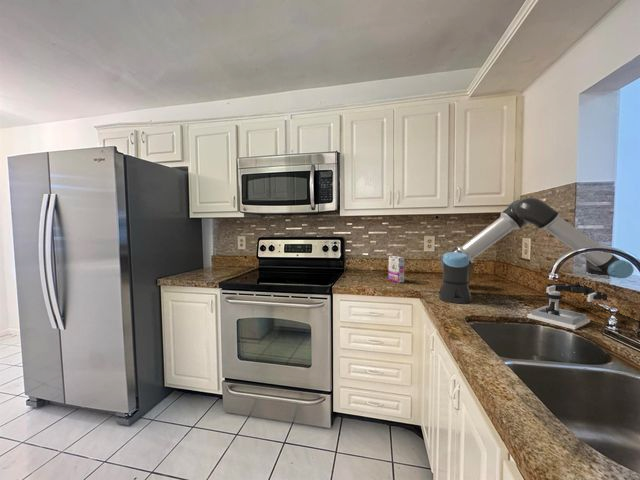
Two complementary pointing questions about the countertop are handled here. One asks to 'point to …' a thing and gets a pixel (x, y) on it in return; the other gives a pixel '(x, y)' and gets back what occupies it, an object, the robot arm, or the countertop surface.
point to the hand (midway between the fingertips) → (567, 294)
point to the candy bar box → (396, 269)
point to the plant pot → (470, 271)
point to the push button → (553, 302)
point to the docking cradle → (560, 318)
